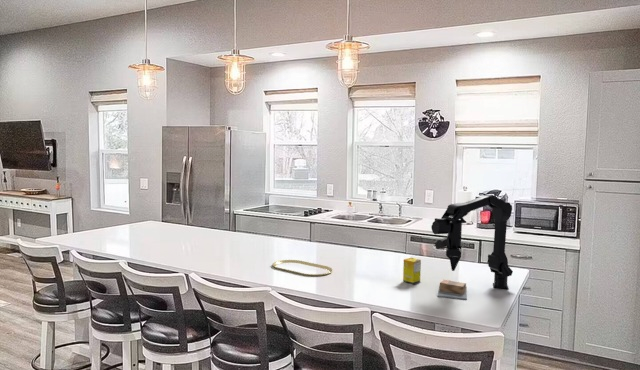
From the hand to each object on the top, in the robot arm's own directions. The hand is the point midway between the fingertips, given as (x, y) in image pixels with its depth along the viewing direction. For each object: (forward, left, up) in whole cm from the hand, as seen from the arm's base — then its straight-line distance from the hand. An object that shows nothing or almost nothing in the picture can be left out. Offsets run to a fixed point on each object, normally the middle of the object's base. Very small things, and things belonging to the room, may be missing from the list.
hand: (453, 268), depth 208 cm
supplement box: (-10, -19, -11) cm, 24 cm away
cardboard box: (0, 0, -10) cm, 10 cm away
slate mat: (0, 0, -11) cm, 11 cm away
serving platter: (-15, -76, -12) cm, 78 cm away
